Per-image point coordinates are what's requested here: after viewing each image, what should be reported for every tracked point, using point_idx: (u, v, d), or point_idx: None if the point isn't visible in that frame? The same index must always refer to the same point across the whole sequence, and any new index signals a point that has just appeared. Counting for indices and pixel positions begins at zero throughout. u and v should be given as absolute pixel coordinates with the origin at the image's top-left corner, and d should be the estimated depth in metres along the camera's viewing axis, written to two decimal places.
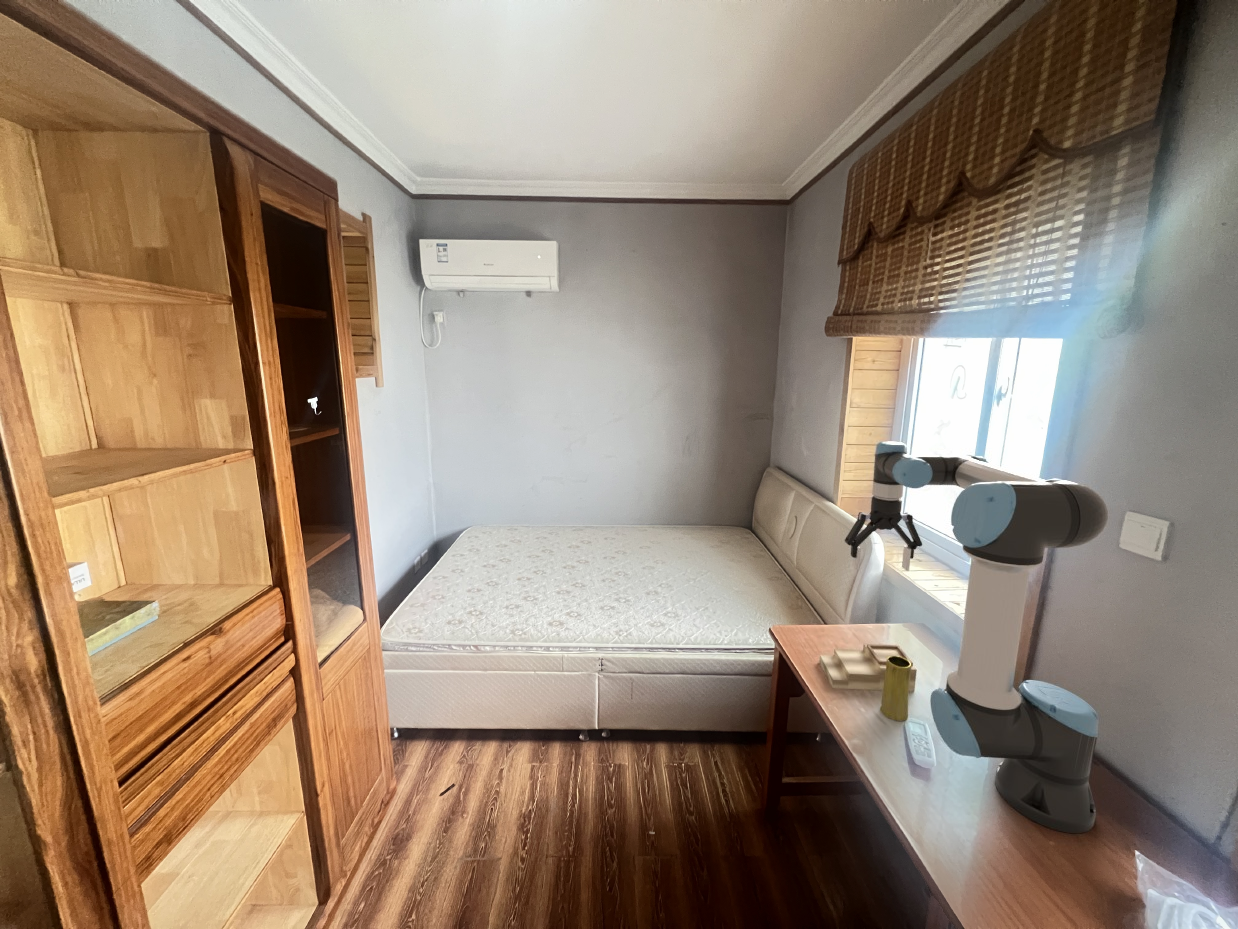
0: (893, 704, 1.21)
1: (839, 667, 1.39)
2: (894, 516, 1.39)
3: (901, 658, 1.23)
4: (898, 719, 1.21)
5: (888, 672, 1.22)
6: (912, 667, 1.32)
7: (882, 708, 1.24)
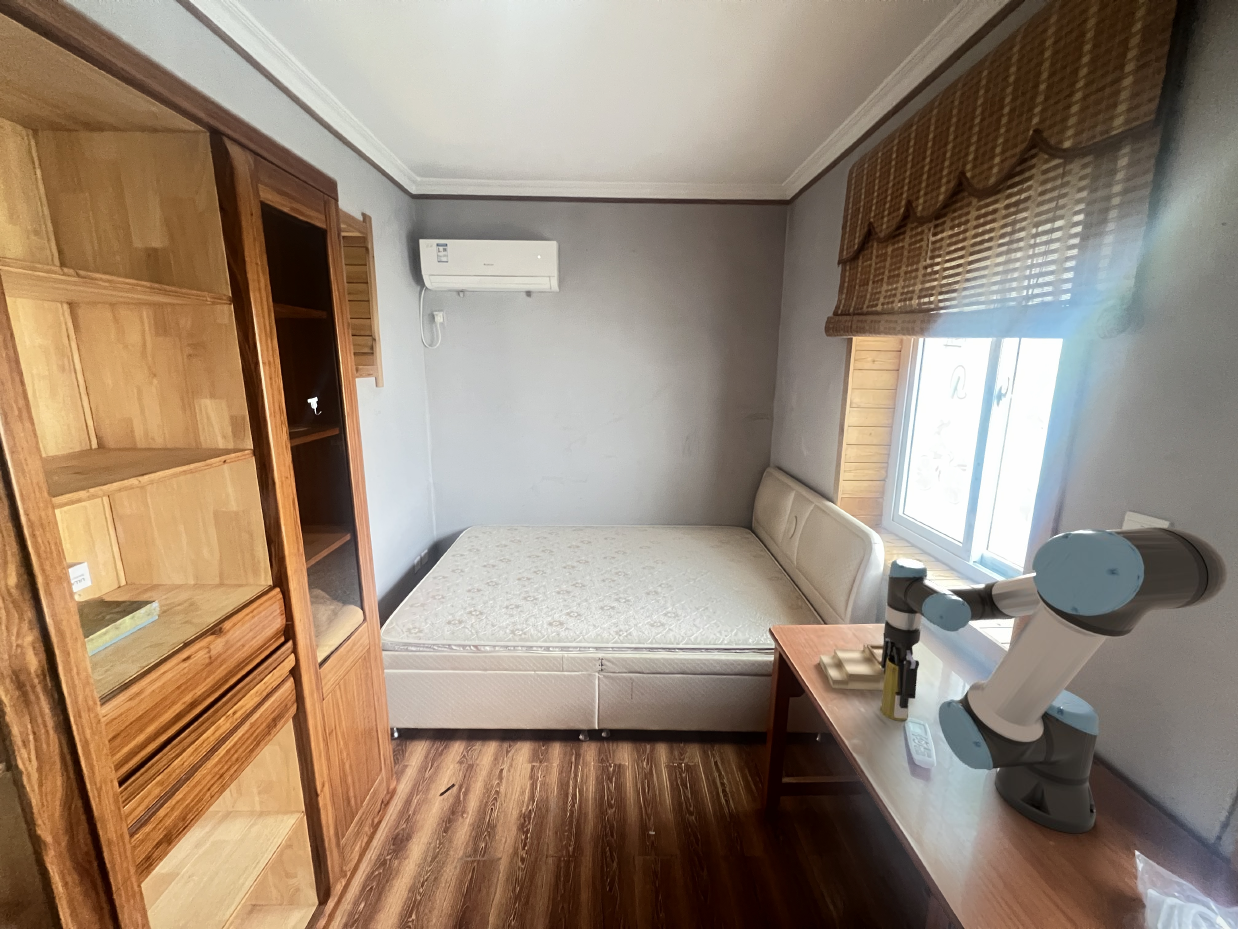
0: (893, 704, 1.21)
1: (839, 667, 1.39)
2: (899, 647, 1.19)
3: None
4: (898, 719, 1.21)
5: (888, 672, 1.22)
6: None
7: (882, 708, 1.24)
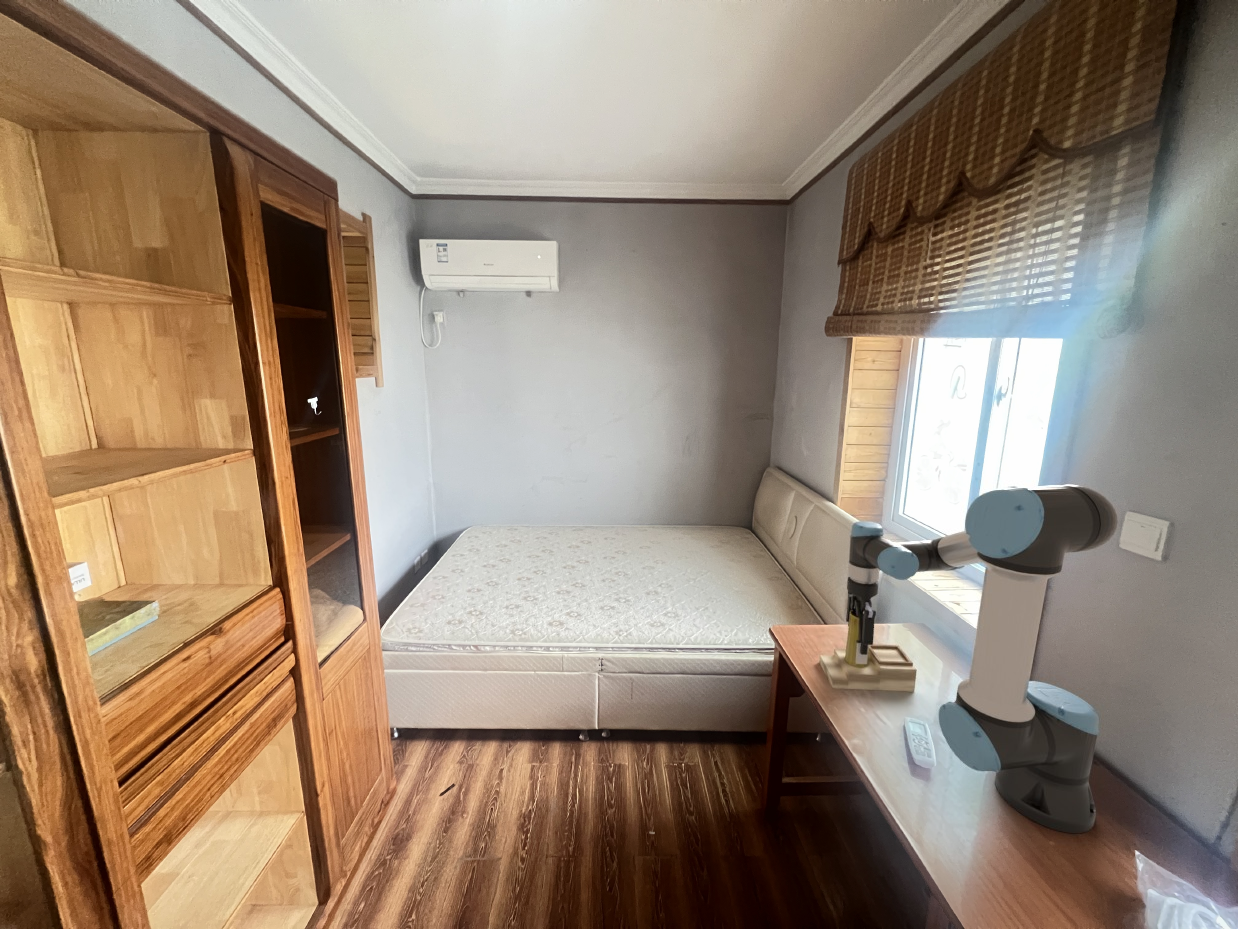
0: (855, 652, 1.35)
1: (839, 667, 1.39)
2: (860, 600, 1.33)
3: None
4: (859, 666, 1.35)
5: (850, 624, 1.36)
6: (912, 667, 1.32)
7: (846, 657, 1.38)
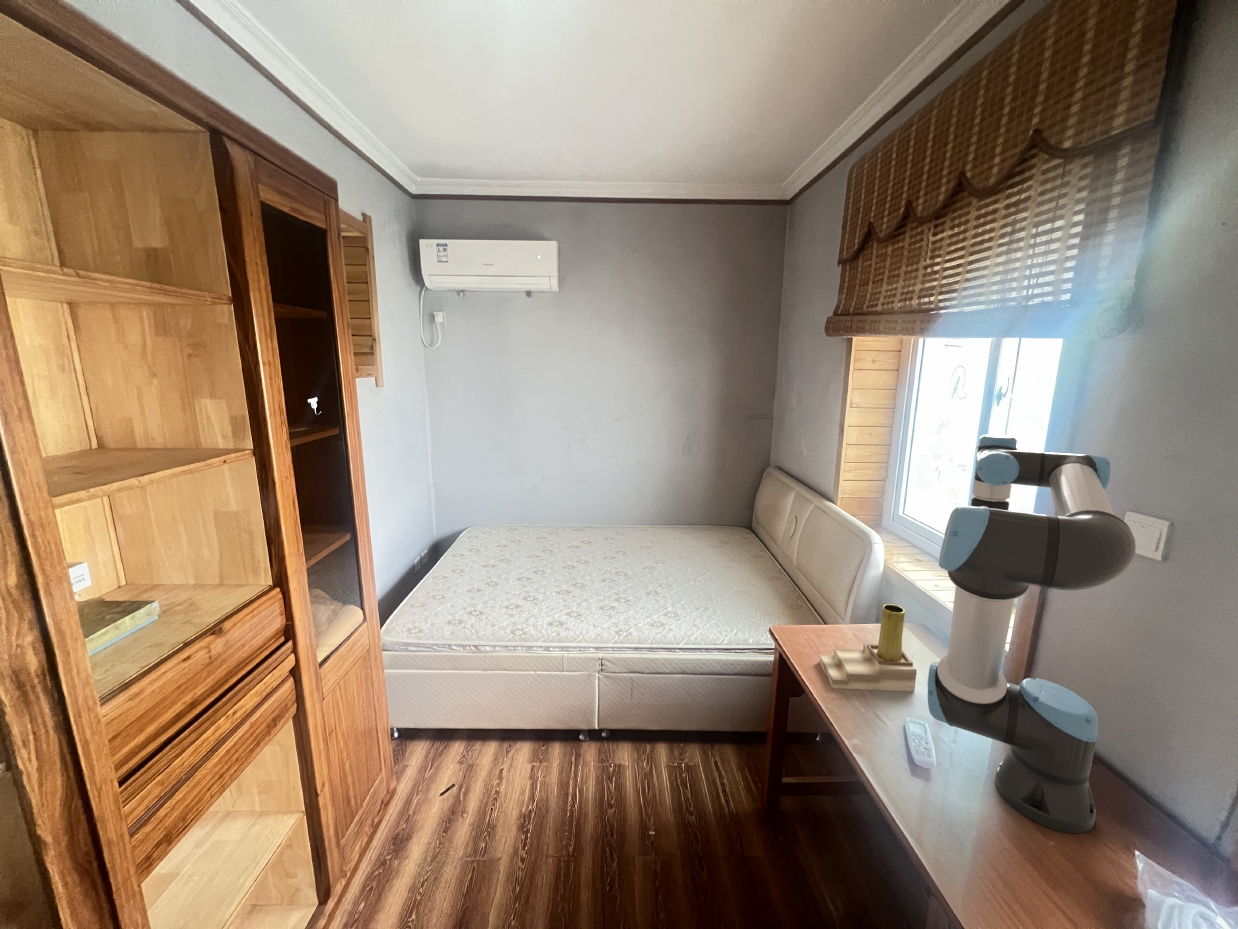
0: (888, 647, 1.34)
1: (839, 667, 1.39)
2: None
3: (895, 606, 1.36)
4: (893, 660, 1.34)
5: (884, 618, 1.35)
6: (912, 667, 1.32)
7: (878, 652, 1.37)
